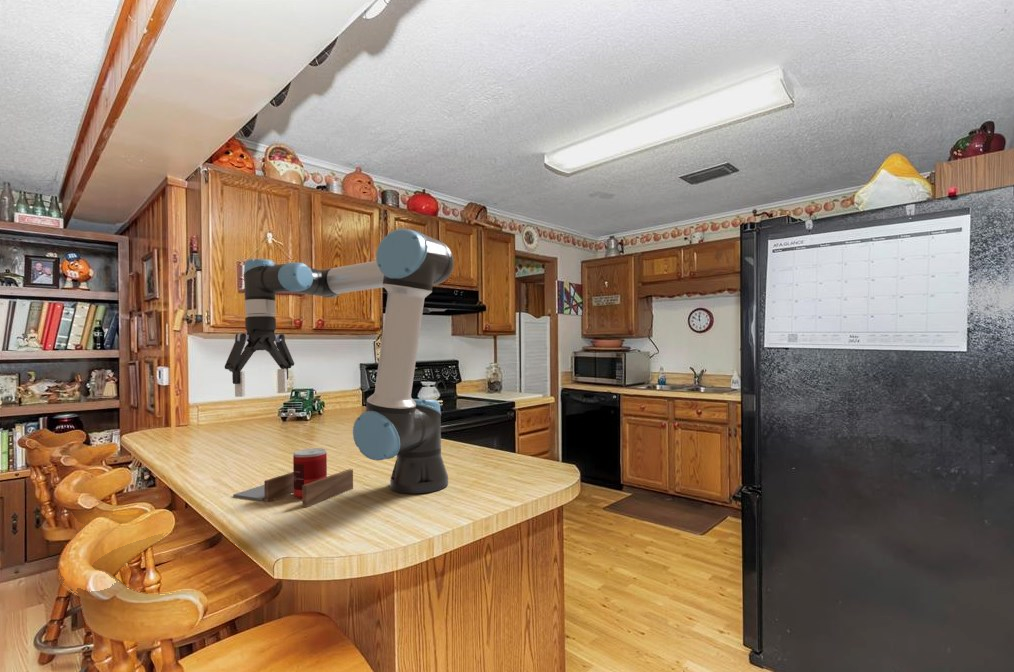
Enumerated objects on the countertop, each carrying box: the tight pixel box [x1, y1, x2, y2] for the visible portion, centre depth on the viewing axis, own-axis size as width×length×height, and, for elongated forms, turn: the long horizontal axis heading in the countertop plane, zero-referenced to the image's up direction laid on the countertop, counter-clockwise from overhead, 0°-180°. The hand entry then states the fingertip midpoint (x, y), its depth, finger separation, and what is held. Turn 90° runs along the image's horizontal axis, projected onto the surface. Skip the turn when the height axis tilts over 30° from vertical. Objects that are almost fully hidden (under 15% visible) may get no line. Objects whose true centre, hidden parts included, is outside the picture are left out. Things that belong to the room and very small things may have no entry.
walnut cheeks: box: [263, 468, 354, 508], centre depth 124 cm, size 13×16×5 cm
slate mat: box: [232, 484, 265, 502], centre depth 126 cm, size 10×10×1 cm
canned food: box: [292, 447, 328, 500], centre depth 124 cm, size 8×8×11 cm
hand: (262, 394), depth 134 cm, fingers open, 13 cm apart
